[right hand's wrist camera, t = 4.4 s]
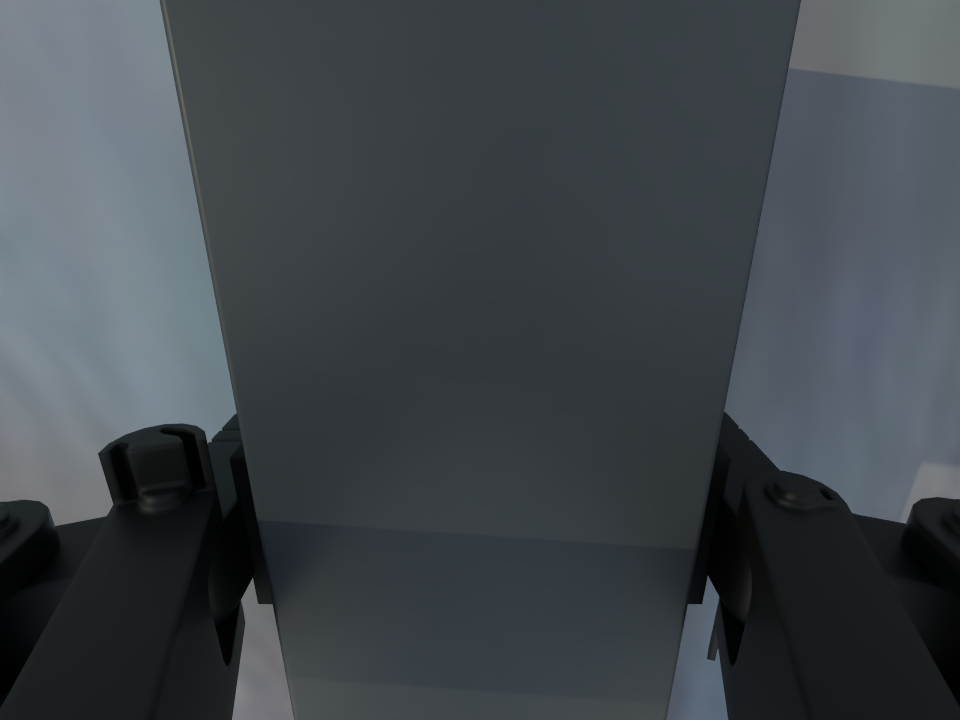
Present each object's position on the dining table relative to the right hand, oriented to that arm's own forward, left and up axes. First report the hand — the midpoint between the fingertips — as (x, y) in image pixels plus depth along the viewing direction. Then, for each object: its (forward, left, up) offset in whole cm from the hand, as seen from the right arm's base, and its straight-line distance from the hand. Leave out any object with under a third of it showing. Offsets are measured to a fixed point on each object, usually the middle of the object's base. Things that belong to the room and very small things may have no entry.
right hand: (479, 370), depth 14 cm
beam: (+14, +24, -1) cm, 28 cm away
